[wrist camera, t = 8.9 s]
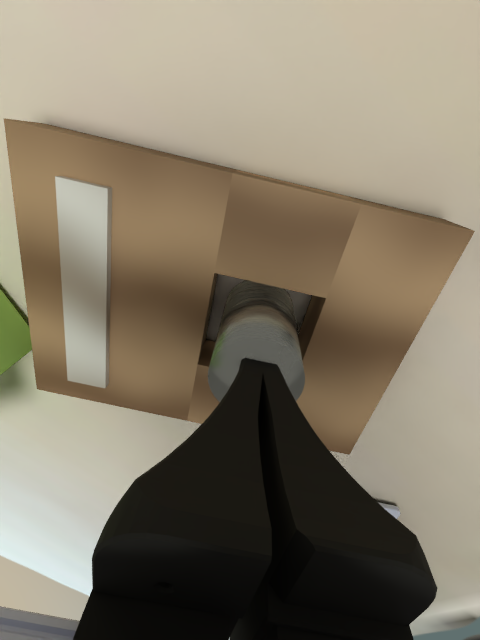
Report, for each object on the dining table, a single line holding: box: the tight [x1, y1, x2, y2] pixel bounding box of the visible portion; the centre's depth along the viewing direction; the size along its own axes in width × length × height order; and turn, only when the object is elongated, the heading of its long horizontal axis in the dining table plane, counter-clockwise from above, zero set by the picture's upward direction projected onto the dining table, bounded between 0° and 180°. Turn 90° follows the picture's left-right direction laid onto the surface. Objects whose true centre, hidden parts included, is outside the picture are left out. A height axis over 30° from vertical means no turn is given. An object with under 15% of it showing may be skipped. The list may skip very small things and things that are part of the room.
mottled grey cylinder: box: [208, 280, 305, 402], centre depth 14 cm, size 4×4×6 cm
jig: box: [4, 119, 475, 454], centre depth 16 cm, size 13×18×3 cm
